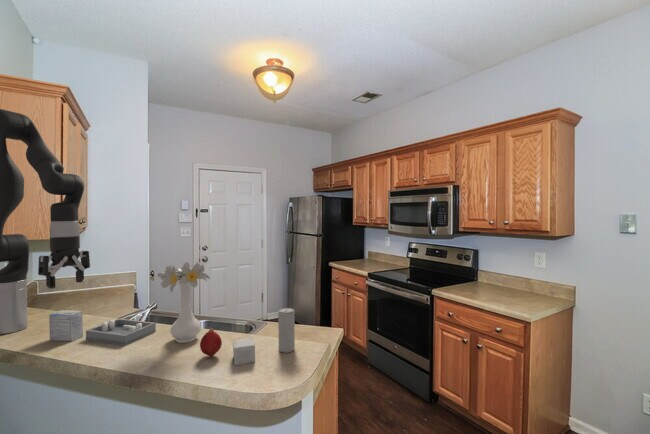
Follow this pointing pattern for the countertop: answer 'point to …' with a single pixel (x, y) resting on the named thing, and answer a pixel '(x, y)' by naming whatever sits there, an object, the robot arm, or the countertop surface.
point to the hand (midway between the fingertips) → (66, 285)
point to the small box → (244, 351)
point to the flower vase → (184, 299)
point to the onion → (210, 343)
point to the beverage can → (286, 330)
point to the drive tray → (120, 331)
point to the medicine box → (66, 325)
